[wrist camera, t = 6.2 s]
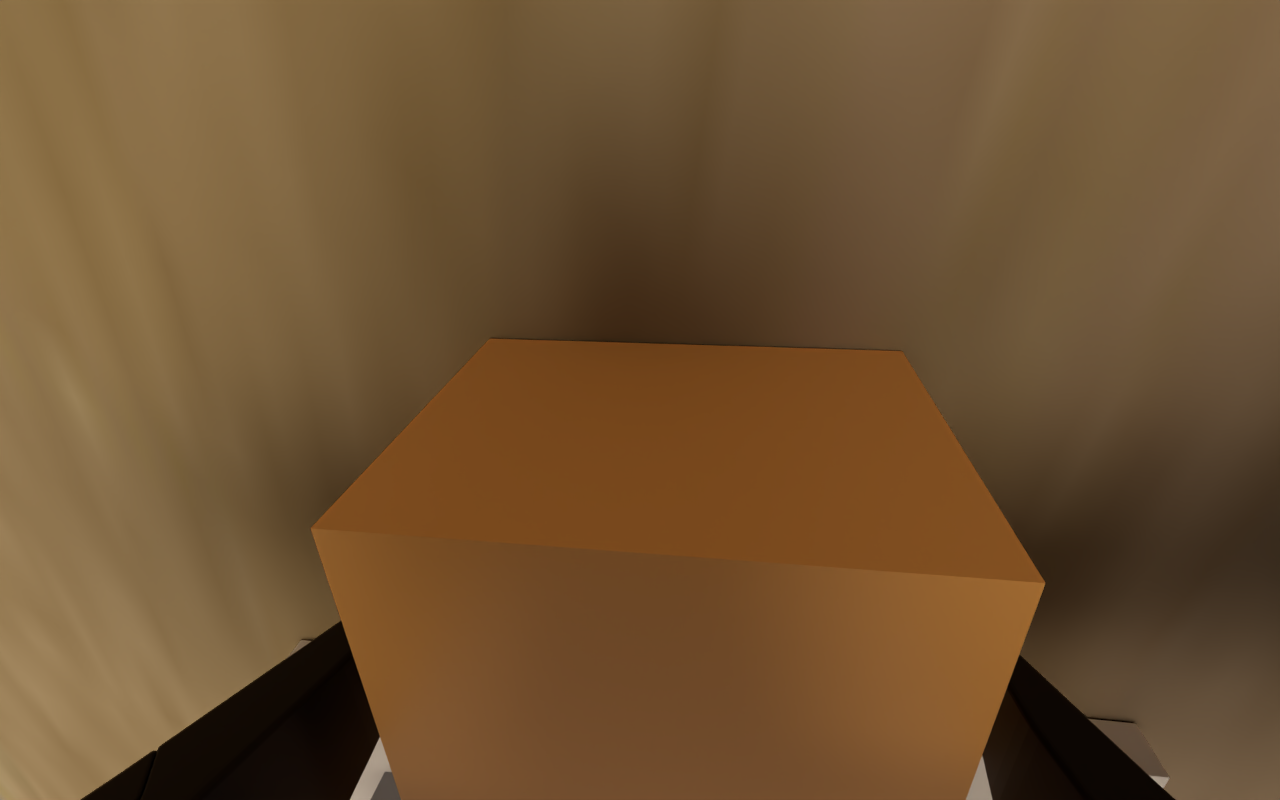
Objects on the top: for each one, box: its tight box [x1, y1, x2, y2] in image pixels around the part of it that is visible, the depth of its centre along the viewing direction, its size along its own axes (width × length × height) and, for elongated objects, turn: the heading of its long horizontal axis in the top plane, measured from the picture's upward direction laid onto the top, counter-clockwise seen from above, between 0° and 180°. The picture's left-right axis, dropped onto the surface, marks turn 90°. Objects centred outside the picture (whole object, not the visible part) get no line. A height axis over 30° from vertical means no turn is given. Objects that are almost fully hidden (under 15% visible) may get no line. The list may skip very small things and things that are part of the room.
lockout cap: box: [310, 339, 1045, 800], centre depth 10 cm, size 7×7×6 cm
